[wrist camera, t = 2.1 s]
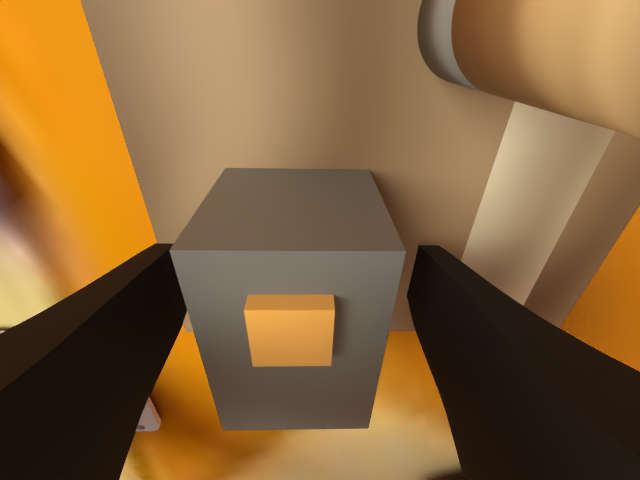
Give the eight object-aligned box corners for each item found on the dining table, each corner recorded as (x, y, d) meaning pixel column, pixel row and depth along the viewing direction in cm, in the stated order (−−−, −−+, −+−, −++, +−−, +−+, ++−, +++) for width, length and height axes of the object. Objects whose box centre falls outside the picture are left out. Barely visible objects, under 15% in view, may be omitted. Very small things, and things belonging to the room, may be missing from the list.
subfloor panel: (195, 309, 13) (185, 331, 12) (84, -94, 7) (42, -119, 6) (539, 309, 14) (558, 330, 13) (755, -68, 7) (829, -86, 6)
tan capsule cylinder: (407, 82, 7) (608, 167, 2) (430, -66, 6) (1034, -601, 1) (512, 84, 8) (917, 172, 2) (560, -61, 6) (1706, -529, 1)
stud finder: (248, 319, 12) (219, 446, 8) (225, 167, 8) (159, 264, 5) (352, 318, 12) (370, 444, 8) (369, 169, 9) (412, 265, 5)
